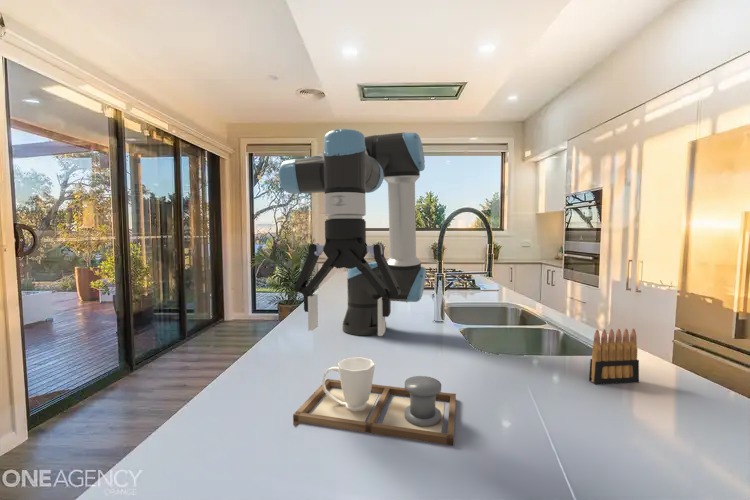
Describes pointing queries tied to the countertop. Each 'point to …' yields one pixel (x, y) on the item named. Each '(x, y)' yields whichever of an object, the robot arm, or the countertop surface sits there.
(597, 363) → the ammunition clip
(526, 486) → the countertop surface
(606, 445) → the countertop surface
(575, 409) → the countertop surface
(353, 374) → the cup
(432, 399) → the doorknob
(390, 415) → the slot tray
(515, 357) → the countertop surface
